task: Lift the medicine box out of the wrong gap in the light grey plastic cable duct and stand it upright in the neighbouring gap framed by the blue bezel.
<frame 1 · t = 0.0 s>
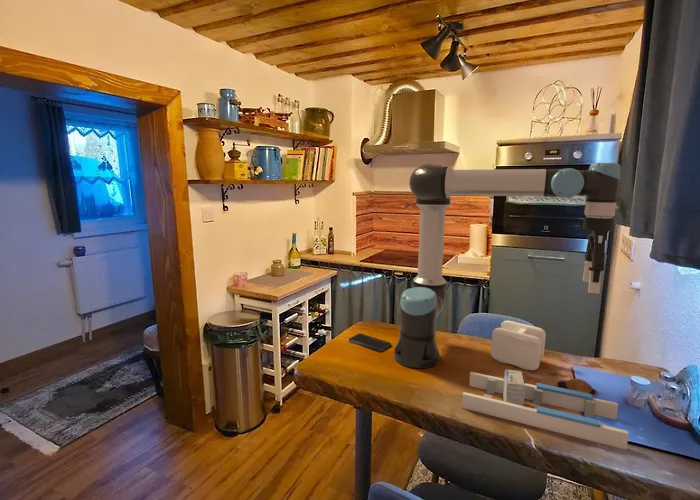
hand: (590, 287, 114), 28 cm above the table, tool pointing down, fingers open, 13 cm apart
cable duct: (537, 412, 99), on the table
medicine box: (512, 407, 101), on the table
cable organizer: (517, 361, 127), on the table
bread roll: (575, 392, 110), on the table
phone: (369, 344, 141), on the table
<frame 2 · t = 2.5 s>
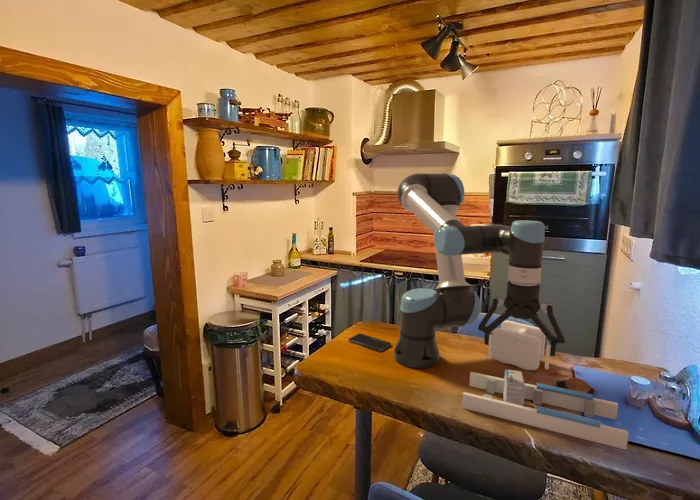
hand: (517, 361, 99), 13 cm above the table, tool pointing down, fingers open, 13 cm apart
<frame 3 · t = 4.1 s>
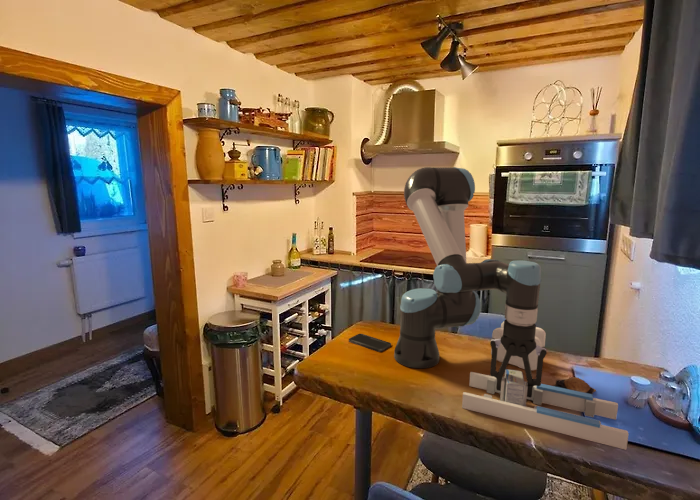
hand: (512, 403, 101), 1 cm above the table, tool pointing down, fingers closed on medicine box, 5 cm apart
medicine box: (512, 407, 101), on the table, touching gripper
everything else where it was.
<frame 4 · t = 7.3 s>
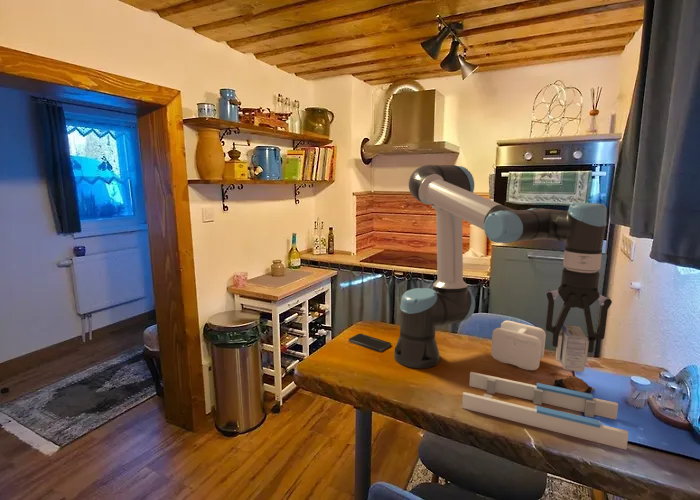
hand: (570, 361, 93), 16 cm above the table, tool pointing down, fingers closed on medicine box, 5 cm apart
medicine box: (569, 364, 93), point 15 cm above the table, touching gripper
when the fingers open (2 cm above the table, at t = 10.0 s): medicine box stays where it is, on the table.
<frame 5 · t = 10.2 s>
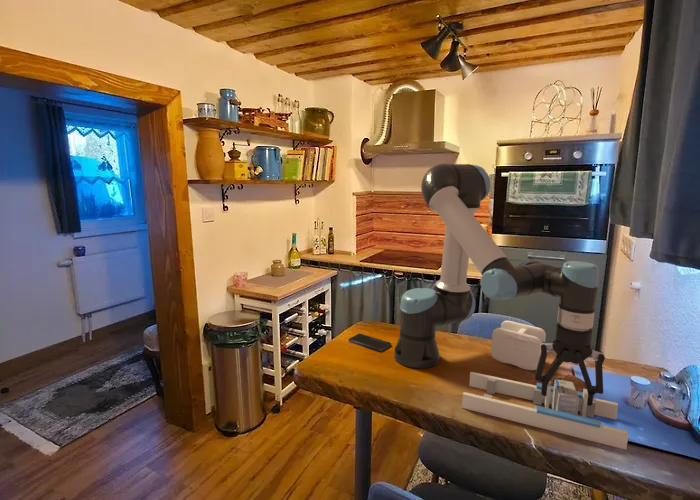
hand: (564, 411, 96), 2 cm above the table, tool pointing down, fingers open, 7 cm apart
medicine box: (562, 419, 96), on the table
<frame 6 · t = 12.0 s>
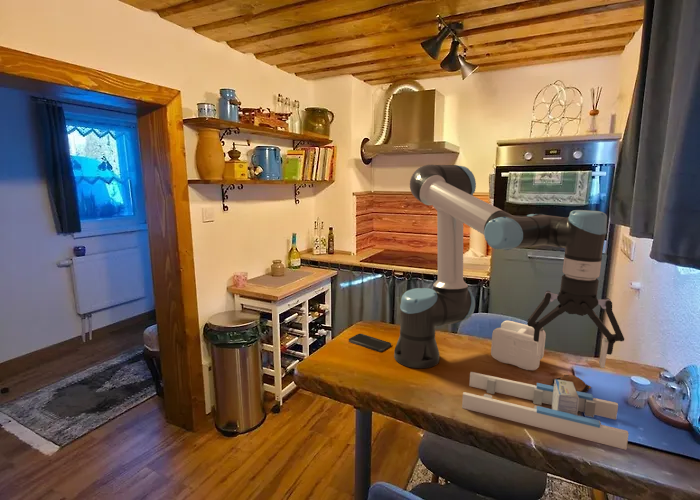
hand: (569, 359, 94), 16 cm above the table, tool pointing down, fingers open, 13 cm apart
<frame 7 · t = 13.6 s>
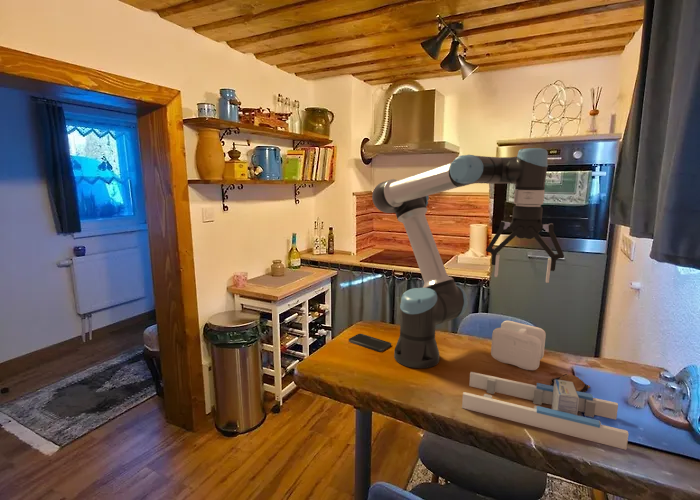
hand: (521, 278, 110), 31 cm above the table, tool pointing down, fingers open, 13 cm apart
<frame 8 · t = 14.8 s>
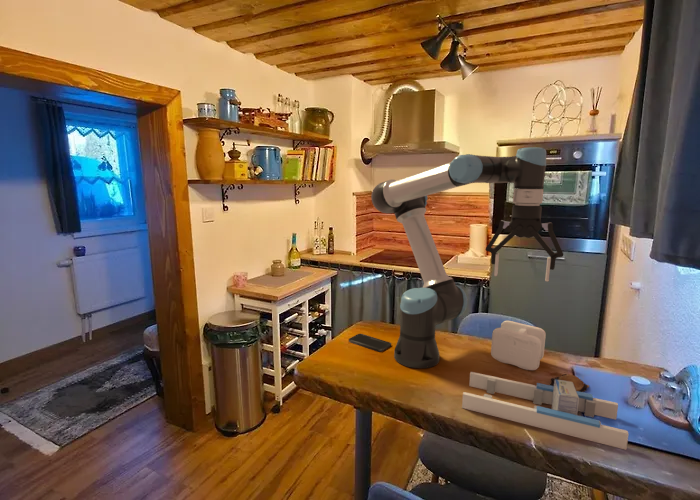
hand: (520, 277, 110), 32 cm above the table, tool pointing down, fingers open, 13 cm apart
at the end: medicine box 0.1 cm from the target spot on the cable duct, point 0.0 cm above the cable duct's base; medicine box tilted 0°; the gripper is holding nothing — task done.
